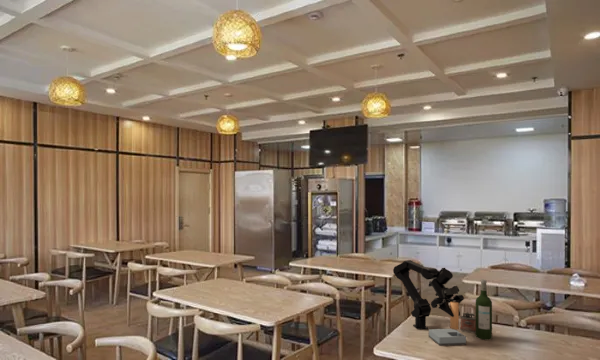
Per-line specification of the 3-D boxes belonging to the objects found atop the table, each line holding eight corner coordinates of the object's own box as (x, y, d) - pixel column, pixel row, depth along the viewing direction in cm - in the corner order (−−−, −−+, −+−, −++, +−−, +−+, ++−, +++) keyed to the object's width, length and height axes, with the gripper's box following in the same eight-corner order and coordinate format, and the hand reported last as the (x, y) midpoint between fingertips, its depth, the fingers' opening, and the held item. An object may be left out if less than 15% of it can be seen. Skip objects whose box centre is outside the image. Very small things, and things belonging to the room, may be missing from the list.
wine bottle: (488, 335, 219) (488, 278, 220) (494, 340, 211) (494, 281, 212) (473, 334, 220) (473, 278, 221) (478, 339, 212) (478, 281, 213)
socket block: (428, 337, 215) (428, 329, 215) (454, 336, 217) (454, 328, 217) (439, 345, 203) (439, 337, 203) (466, 344, 205) (466, 336, 205)
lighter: (460, 330, 226) (460, 312, 226) (460, 328, 229) (460, 310, 229) (475, 333, 222) (475, 314, 222) (476, 331, 225) (476, 312, 225)
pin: (449, 328, 208) (449, 302, 208) (451, 326, 211) (451, 301, 211) (457, 330, 206) (457, 304, 206) (459, 328, 209) (459, 302, 209)
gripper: (435, 282, 208) (451, 309, 198) (461, 279, 217) (478, 305, 206) (423, 294, 215) (439, 321, 205) (450, 290, 223) (466, 316, 213)
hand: (456, 316), depth 207 cm, fingers closed on pin, 4 cm apart
